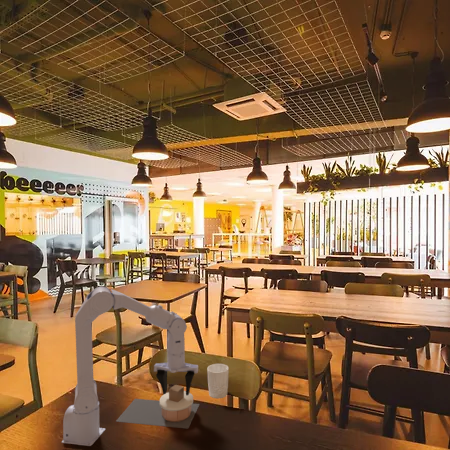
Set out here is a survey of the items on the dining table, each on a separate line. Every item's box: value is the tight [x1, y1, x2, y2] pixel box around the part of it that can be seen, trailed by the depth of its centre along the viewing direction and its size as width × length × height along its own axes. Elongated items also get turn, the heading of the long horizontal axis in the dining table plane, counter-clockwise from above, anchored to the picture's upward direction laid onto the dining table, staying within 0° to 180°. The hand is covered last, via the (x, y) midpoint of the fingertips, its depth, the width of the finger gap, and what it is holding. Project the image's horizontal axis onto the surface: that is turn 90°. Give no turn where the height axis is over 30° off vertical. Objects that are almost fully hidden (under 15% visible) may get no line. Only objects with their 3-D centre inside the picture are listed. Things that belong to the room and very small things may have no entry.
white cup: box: [206, 363, 230, 399], centre depth 121 cm, size 8×8×10 cm
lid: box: [159, 384, 194, 411], centre depth 109 cm, size 11×11×4 cm
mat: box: [115, 398, 201, 430], centre depth 110 cm, size 24×14×1 cm, turn 80°
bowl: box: [162, 406, 191, 422], centre depth 109 cm, size 9×9×4 cm
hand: (176, 393), depth 109 cm, fingers open, 7 cm apart
